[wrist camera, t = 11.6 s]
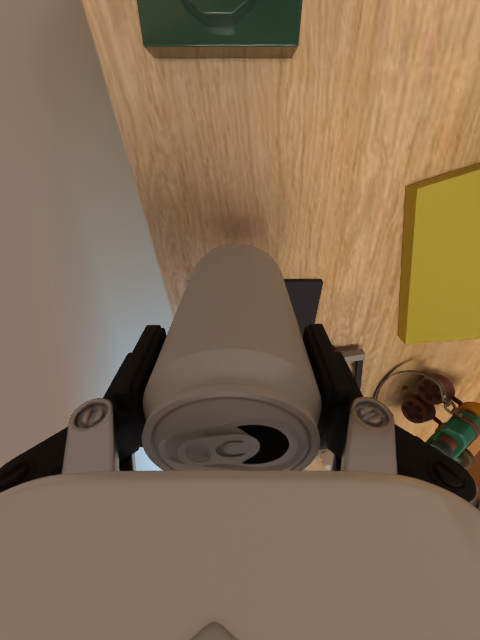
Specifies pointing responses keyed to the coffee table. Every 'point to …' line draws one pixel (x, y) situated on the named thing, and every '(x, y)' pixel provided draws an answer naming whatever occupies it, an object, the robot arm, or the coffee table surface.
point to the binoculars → (448, 435)
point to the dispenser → (220, 28)
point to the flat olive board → (441, 259)
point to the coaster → (304, 299)
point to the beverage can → (233, 373)
